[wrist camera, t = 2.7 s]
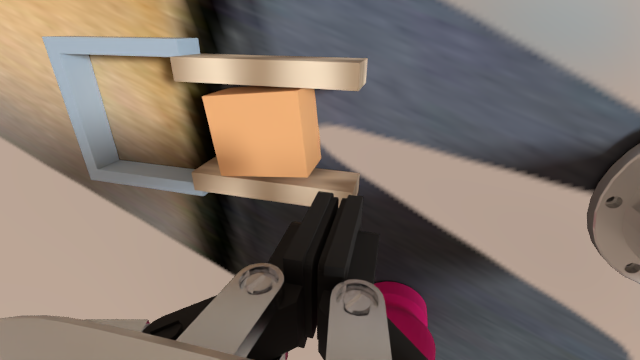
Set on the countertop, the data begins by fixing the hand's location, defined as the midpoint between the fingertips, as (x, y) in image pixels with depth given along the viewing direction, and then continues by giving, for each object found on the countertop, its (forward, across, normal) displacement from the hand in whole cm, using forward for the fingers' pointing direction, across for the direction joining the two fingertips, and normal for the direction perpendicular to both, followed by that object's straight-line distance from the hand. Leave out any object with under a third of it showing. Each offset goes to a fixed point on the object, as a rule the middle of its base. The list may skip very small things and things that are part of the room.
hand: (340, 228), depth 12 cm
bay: (+13, +19, 0) cm, 23 cm away
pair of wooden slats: (+13, +7, 0) cm, 15 cm away
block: (+14, +8, 0) cm, 16 cm away
